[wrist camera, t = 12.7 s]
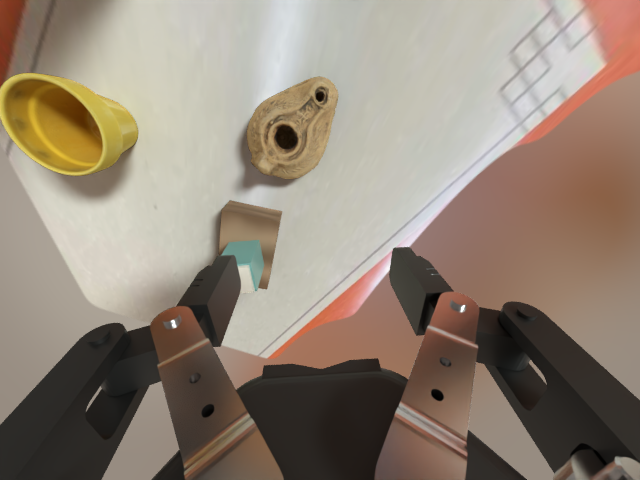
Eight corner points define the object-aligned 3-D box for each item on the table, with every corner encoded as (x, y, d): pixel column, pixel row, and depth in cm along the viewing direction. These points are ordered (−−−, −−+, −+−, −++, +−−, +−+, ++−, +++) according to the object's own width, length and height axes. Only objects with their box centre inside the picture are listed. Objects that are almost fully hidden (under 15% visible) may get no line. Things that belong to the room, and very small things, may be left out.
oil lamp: (351, 100, 35) (362, 97, 28) (301, 187, 41) (300, 203, 34) (284, 51, 32) (278, 34, 25) (240, 152, 38) (225, 162, 31)
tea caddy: (228, 242, 40) (213, 268, 33) (259, 239, 40) (249, 265, 33) (235, 267, 42) (222, 296, 36) (264, 264, 42) (256, 293, 36)
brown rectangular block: (230, 199, 42) (221, 210, 37) (282, 210, 43) (279, 221, 39) (225, 265, 48) (216, 281, 44) (270, 273, 49) (267, 289, 45)
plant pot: (166, 125, 36) (121, 129, 27) (132, 175, 39) (83, 194, 30) (92, 63, 32) (13, 45, 23) (62, 125, 35) (-18, 129, 26)
